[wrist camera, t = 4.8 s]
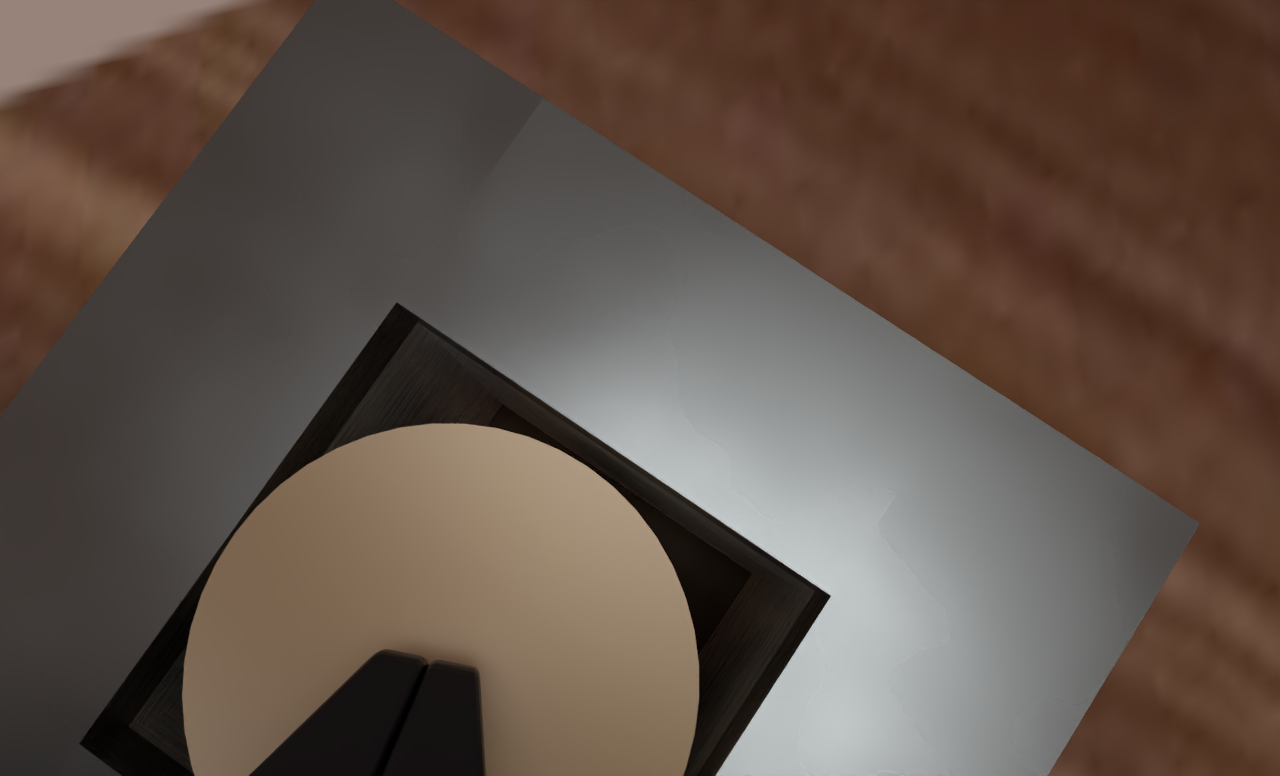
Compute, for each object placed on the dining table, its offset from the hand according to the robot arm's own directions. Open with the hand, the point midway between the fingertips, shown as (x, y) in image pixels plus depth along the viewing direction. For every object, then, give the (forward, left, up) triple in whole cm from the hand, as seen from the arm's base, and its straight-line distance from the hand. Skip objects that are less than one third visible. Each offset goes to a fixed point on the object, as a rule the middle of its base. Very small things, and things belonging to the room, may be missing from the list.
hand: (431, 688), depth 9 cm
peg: (0, 0, -8) cm, 8 cm away
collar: (0, 0, -9) cm, 9 cm away
